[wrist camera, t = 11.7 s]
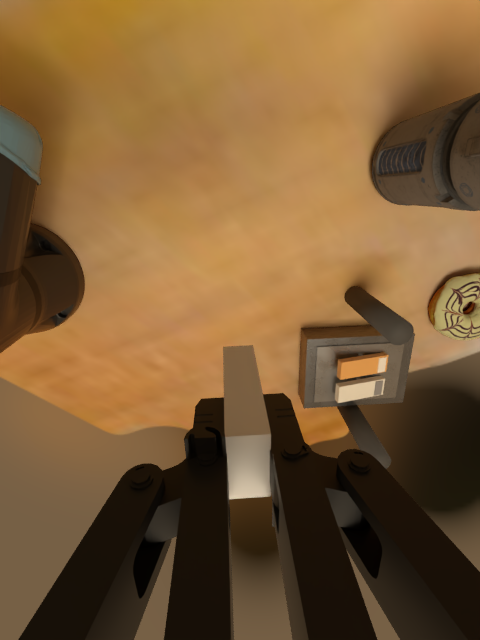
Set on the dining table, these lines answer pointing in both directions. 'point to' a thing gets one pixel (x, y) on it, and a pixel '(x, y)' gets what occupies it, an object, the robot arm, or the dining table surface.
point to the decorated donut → (457, 308)
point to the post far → (364, 434)
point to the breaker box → (346, 342)
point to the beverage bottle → (433, 158)
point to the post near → (379, 316)
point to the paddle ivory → (359, 389)
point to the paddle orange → (362, 365)
